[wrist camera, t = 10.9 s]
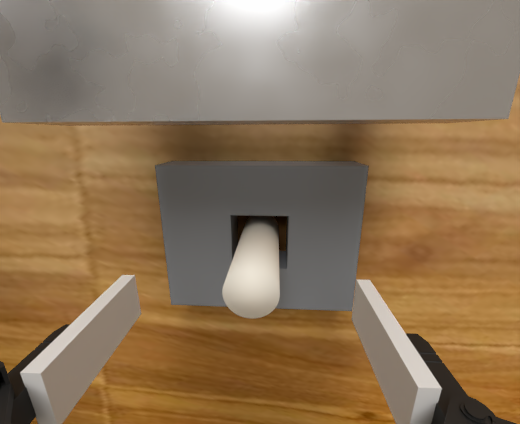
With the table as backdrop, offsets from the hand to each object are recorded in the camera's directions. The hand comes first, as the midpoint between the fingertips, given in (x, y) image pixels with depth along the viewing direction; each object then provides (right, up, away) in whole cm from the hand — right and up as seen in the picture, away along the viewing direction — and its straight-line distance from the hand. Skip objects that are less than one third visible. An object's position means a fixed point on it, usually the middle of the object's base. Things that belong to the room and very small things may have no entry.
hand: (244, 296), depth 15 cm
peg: (+1, +3, +12) cm, 13 cm away
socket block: (+1, +3, +12) cm, 13 cm away
